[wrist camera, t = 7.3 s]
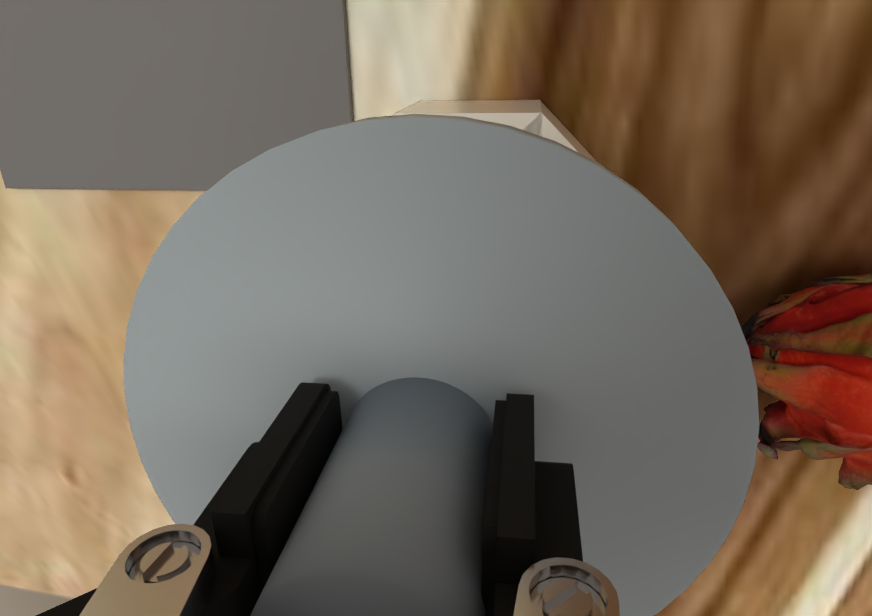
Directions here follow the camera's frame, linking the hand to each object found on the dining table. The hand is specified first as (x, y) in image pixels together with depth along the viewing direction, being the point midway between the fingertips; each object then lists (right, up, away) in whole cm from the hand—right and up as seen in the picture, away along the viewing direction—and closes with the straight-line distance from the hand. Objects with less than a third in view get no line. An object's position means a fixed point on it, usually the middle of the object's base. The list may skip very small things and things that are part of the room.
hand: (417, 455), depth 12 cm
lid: (0, 0, +1) cm, 1 cm away
